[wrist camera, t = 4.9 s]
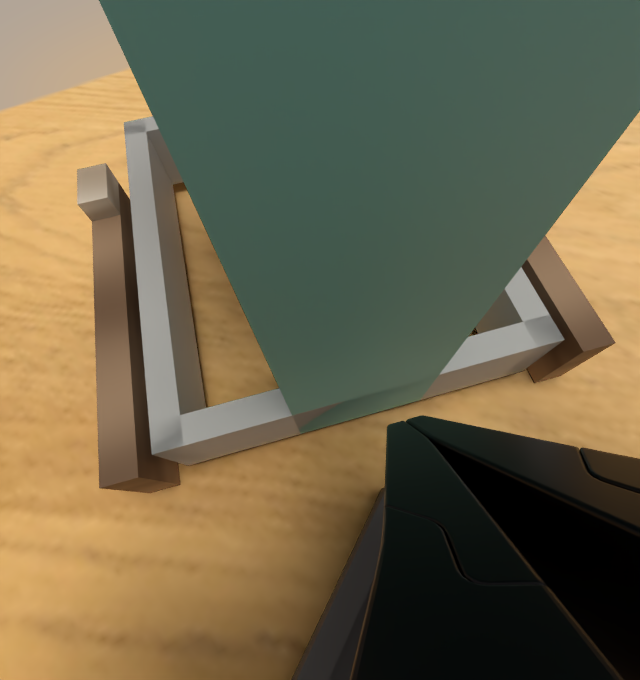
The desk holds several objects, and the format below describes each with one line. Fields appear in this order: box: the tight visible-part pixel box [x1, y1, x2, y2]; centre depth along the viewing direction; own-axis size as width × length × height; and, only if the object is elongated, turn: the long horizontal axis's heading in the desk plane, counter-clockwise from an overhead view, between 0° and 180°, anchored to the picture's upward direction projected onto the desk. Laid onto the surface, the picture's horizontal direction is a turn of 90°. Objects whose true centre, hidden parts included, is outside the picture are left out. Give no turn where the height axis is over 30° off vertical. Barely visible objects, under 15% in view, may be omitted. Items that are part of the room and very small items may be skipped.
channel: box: [77, 163, 615, 493], centre depth 16 cm, size 13×18×4 cm
